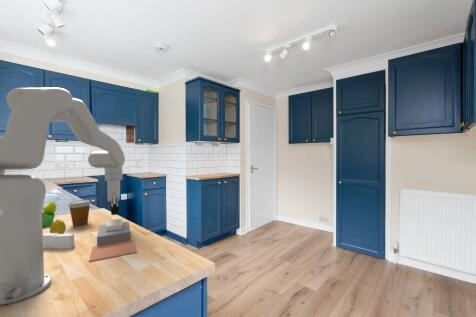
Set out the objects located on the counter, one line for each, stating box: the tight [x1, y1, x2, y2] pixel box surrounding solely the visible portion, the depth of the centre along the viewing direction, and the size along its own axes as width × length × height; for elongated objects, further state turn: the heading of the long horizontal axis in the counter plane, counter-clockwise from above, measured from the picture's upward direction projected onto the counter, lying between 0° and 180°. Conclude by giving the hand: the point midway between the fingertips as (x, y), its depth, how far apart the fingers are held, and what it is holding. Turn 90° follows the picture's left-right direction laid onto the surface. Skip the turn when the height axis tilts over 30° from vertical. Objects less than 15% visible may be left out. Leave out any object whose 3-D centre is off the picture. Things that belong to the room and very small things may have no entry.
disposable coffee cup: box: [67, 199, 91, 227], centre depth 117 cm, size 10×10×12 cm
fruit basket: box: [42, 201, 57, 228], centre depth 119 cm, size 11×9×11 cm
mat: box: [88, 239, 137, 263], centre depth 87 cm, size 13×15×1 cm
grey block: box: [96, 221, 132, 246], centre depth 99 cm, size 16×12×4 cm
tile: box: [105, 218, 123, 231], centre depth 101 cm, size 9×6×2 cm, turn 28°
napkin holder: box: [43, 232, 75, 250], centre depth 91 cm, size 15×11×6 cm
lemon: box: [49, 219, 67, 234], centre depth 100 cm, size 6×6×8 cm
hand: (115, 214), depth 110 cm, fingers closed
